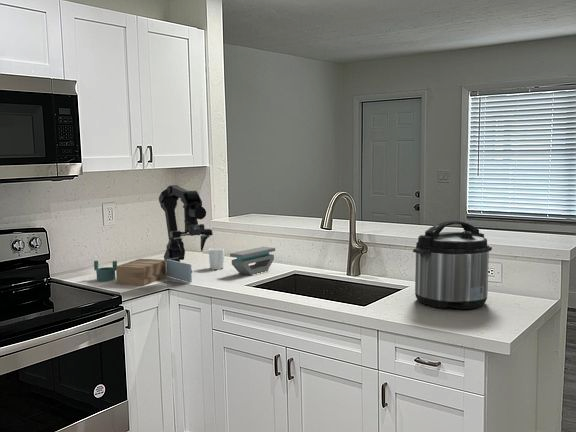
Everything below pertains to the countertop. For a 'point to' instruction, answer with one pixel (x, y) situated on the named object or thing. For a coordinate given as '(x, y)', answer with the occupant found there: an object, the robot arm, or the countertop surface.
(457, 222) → the pressure cooker
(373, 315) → the countertop surface
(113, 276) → the bracket
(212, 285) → the countertop surface
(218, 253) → the white cup
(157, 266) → the walnut cabinet
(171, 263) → the cabinet door
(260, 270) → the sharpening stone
